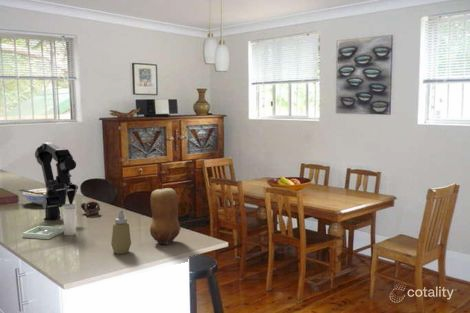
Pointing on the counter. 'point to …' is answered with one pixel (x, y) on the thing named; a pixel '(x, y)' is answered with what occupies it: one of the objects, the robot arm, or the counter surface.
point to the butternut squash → (164, 215)
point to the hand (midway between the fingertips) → (67, 204)
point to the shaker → (69, 219)
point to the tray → (39, 230)
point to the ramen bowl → (35, 195)
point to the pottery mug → (90, 207)
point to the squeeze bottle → (121, 235)
